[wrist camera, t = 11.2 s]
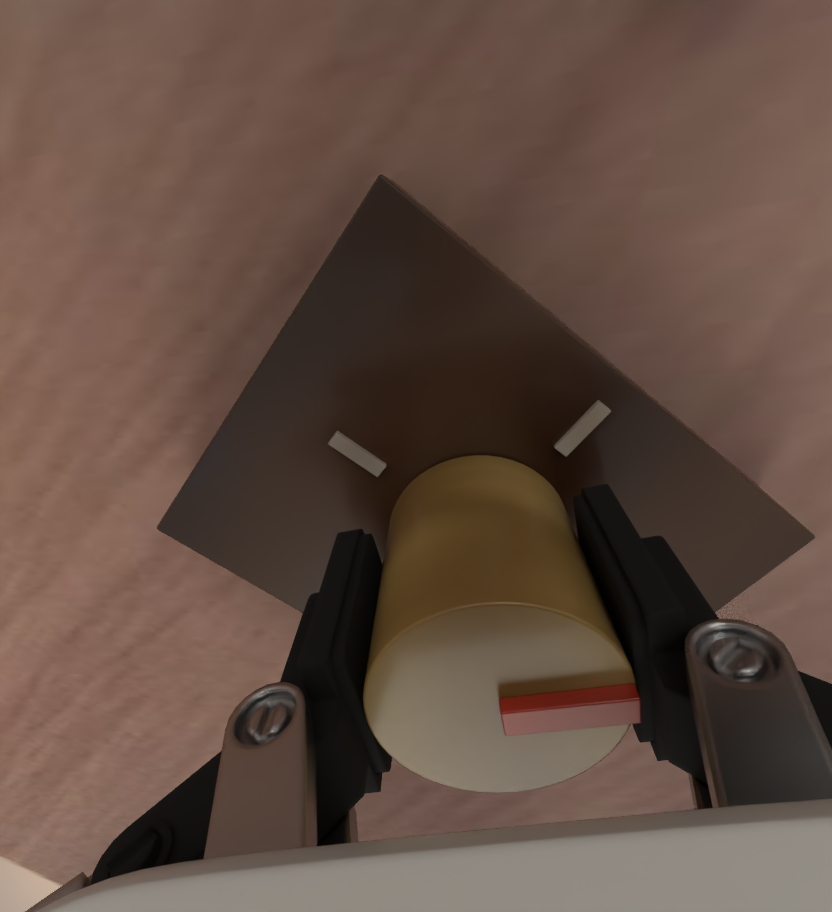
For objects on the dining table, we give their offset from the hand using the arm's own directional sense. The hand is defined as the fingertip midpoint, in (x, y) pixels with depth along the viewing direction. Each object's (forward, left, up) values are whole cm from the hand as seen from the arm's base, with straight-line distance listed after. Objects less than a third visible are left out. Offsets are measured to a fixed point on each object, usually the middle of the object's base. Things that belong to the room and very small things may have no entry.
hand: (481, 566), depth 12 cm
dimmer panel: (0, 0, -4) cm, 4 cm away
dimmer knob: (0, 0, -1) cm, 1 cm away
